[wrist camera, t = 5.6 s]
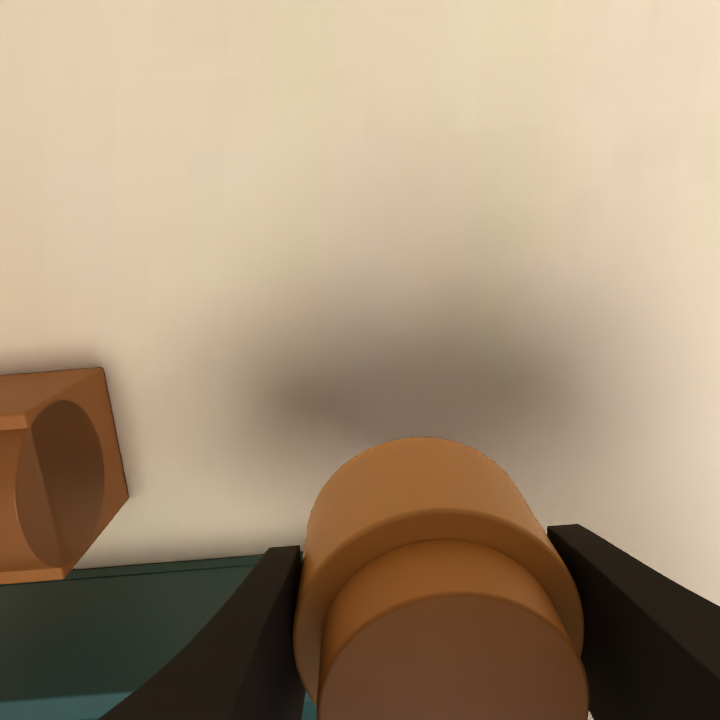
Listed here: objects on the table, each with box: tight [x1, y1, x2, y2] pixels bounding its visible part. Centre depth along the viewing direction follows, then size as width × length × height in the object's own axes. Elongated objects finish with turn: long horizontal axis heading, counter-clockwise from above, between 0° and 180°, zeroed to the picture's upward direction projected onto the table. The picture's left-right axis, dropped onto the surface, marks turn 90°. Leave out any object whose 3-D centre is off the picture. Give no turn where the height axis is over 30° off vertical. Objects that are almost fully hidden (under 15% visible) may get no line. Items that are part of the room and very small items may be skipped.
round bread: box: [292, 437, 589, 720], centre depth 10 cm, size 5×5×5 cm
